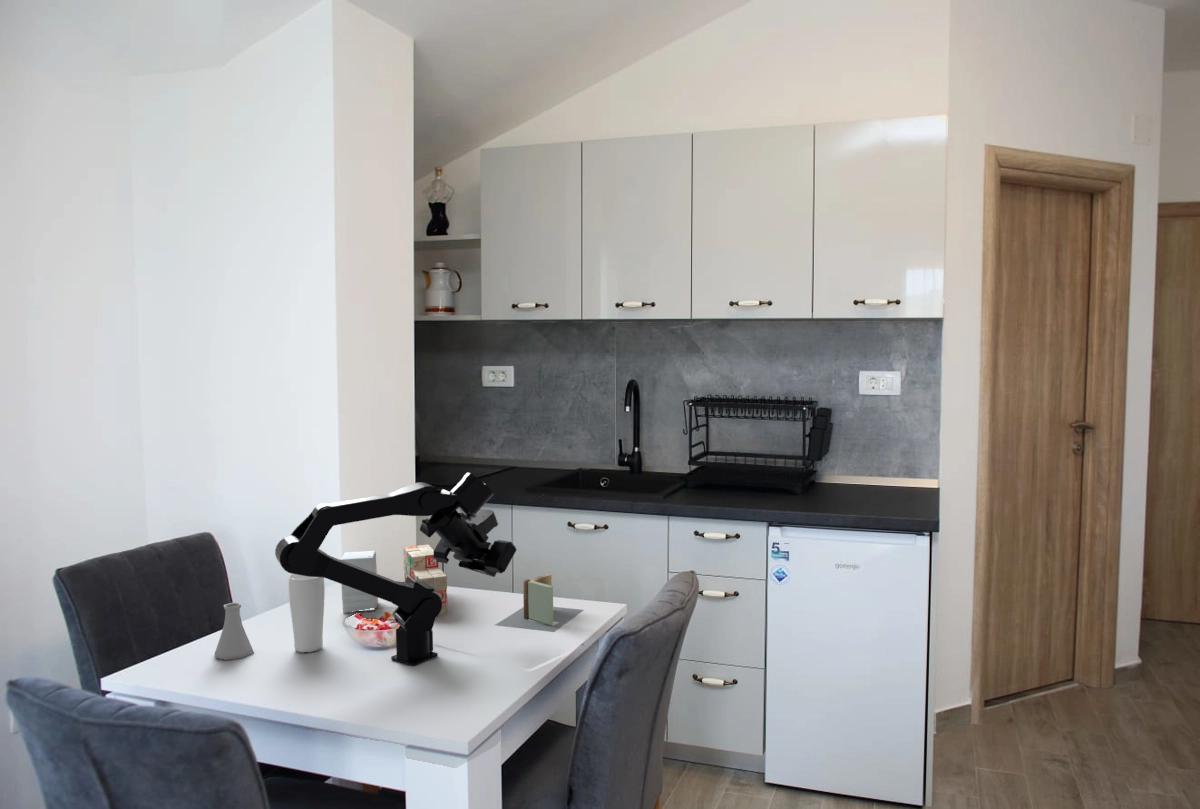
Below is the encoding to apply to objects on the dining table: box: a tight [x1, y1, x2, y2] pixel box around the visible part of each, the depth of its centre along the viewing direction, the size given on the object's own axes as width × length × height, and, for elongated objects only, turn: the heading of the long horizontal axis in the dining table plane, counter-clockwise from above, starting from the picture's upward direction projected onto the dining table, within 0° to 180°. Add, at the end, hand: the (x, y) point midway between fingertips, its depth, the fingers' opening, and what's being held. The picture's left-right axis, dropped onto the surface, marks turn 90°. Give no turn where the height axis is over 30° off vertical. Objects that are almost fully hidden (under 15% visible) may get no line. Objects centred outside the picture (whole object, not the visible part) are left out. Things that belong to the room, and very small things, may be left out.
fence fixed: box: [522, 573, 553, 619], centre depth 188 cm, size 9×2×8 cm, turn 144°
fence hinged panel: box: [528, 581, 554, 624], centre depth 182 cm, size 7×1×8 cm, turn 45°
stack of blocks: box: [402, 544, 448, 617], centre depth 198 cm, size 21×6×12 cm, turn 22°
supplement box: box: [339, 550, 379, 614], centre depth 197 cm, size 7×7×13 cm
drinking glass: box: [287, 573, 326, 653], centre depth 169 cm, size 7×7×15 cm
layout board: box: [495, 606, 584, 633], centre depth 186 cm, size 16×14×1 cm
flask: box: [214, 602, 254, 661], centre depth 167 cm, size 7×7×10 cm
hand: (494, 574), depth 176 cm, fingers closed
